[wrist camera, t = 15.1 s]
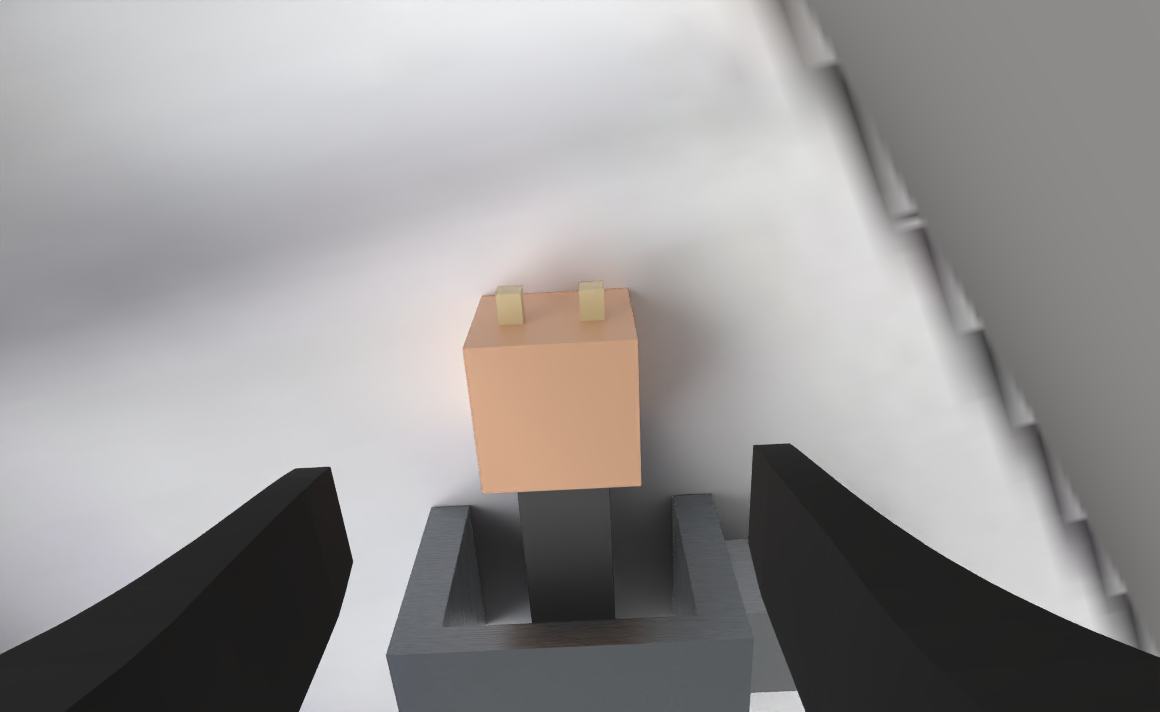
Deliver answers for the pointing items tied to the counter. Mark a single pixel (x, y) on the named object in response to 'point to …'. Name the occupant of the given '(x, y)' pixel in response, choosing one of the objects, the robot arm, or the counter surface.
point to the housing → (587, 635)
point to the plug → (558, 432)
